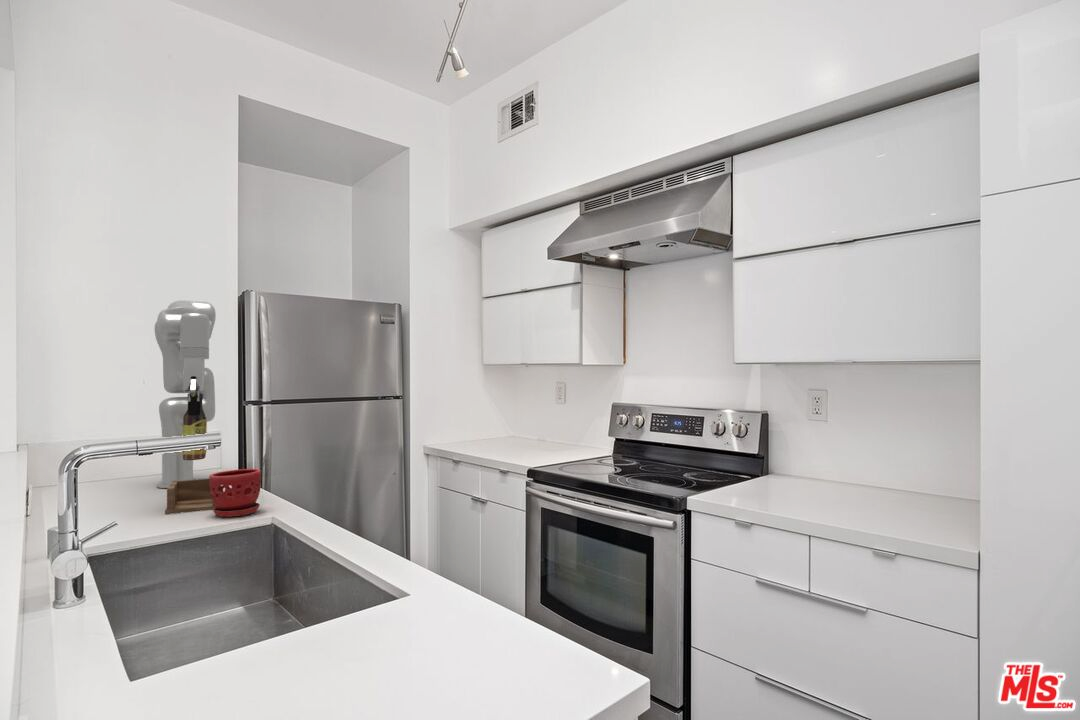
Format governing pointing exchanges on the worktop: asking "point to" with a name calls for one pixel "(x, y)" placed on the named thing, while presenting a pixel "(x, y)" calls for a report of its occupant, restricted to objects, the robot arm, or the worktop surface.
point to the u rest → (189, 496)
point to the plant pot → (235, 491)
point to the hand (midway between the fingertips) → (194, 413)
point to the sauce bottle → (195, 431)
